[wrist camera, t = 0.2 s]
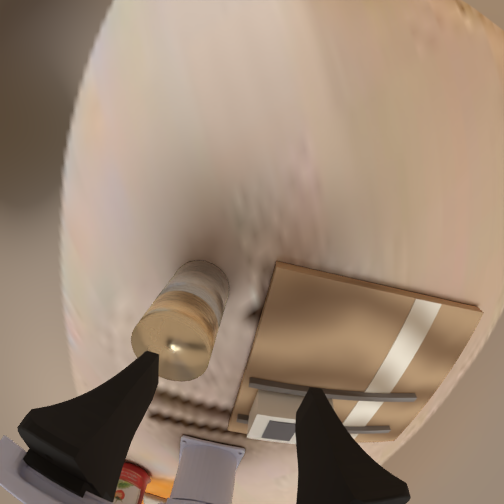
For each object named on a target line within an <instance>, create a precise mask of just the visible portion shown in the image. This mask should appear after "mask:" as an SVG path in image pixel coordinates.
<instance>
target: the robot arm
mask: <svg viewBox="0 0 504 504" xmlns="http://www.w3.org/2000/svg"><path fill="white" fill-rule="evenodd" d="M158 376H159V354H157V353H154V352H150V351H145V352H144V353H143V354H142V355H141V356H140V357H138V358H137V359H136V360H135V361H134V362H132V363H131V364H130V365H129V366H128V367H126V368H125V369H124V370H122V371H121V372H120V373H118V374H117V375H116V376H114V377H113V378H111V379H110V380H108V381H106V382H105V383H103V384H102V385H100V386H98V387H97V388H95V389H93V390H91V391H89V392H87V393H85V394H83V395H80V396H78V397H76V398H73V399H71V400H68V401H65V402H62V403H59V404H55V405H51V406H47V407H42V408H36V409H32V410H31V411H30V412H29V413H28V414H27V415H26V416H25V418H24V419H23V420H22V422H21V423H20V425H19V426H18V432H19V434H20V436H21V437H22V438H23V440H24V441H25V443H26V444H27V446H28V447H29V448H30V449H29V450H28V452H25V450H24V449H22V448H21V447H20V446H19V445H17V444H16V443H15V442H13V441H12V440H11V439H9V438H8V437H7V436H3V437H2V439H1V440H0V485H1V486H2V487H3V488H4V489H5V490H7V491H8V492H9V493H10V494H12V495H13V496H14V497H16V498H17V499H18V500H20V501H21V502H22V503H24V504H114V503H112V502H113V501H114V497H115V493H116V489H117V485H118V481H119V478H120V474H121V471H122V468H123V465H124V461H125V458H126V455H127V452H128V450H129V447H130V444H131V441H132V439H133V437H134V434H135V432H136V430H137V428H138V426H139V424H140V422H141V421H142V419H143V417H144V415H145V413H146V411H147V409H148V407H149V405H150V403H151V401H152V399H153V396H154V393H155V391H156V388H157V385H158ZM295 435H296V446H297V458H298V491H297V502H296V504H406V503H407V502H408V501H409V500H410V494H409V490H408V486H407V484H406V483H405V482H404V481H402V480H400V479H399V478H397V477H395V476H394V475H392V474H391V473H389V472H388V471H387V470H385V469H383V467H381V466H380V465H379V464H378V463H376V462H375V461H374V460H373V459H372V458H371V457H370V456H369V455H368V454H367V453H366V452H365V451H364V450H363V449H362V448H361V447H360V446H359V445H358V443H357V442H356V441H355V440H354V439H353V437H352V436H351V435H350V433H349V432H348V431H347V429H346V428H345V427H344V425H343V424H342V422H341V420H340V419H339V417H338V416H337V414H336V412H335V411H334V409H333V407H332V406H331V404H330V402H329V401H328V399H327V397H326V395H325V394H324V392H323V390H322V389H321V388H313V387H310V388H309V389H308V391H307V393H306V395H305V397H304V399H303V401H302V403H301V404H300V406H299V408H298V410H297V412H296V422H295ZM244 453H245V449H244V448H240V447H234V446H229V445H224V444H219V443H214V442H210V441H205V440H201V439H197V438H193V437H189V436H185V435H183V436H181V443H180V455H179V466H178V470H177V474H176V477H175V481H174V485H173V488H172V492H171V496H170V498H167V501H166V503H164V502H160V503H158V504H232V497H233V489H234V481H235V473H236V469H237V467H238V465H239V463H240V461H241V459H242V457H243V455H244Z"/></svg>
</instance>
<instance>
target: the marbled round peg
mask: <svg viewBox="0 0 504 504" xmlns="http://www.w3.org/2000/svg"><path fill="white" fill-rule="evenodd" d="M228 296H229V283H228V280H227V278H226V276H225V274H224V273H223V272H222V271H221V270H220V269H219V268H218V267H217V266H215V265H214V264H212V263H209V262H206V261H200V260H197V261H190V262H188V263H186V264H184V265H183V266H181V267H180V268H179V269H178V271H177V272H176V273H175V275H174V276H173V277H172V279H171V280H170V281H169V282H168V284H167V285H166V286H165V288H164V289H163V290H162V292H161V293H160V294H159V296H158V297H157V298H156V300H155V301H154V302H153V304H152V305H151V306H150V308H149V309H148V310H147V312H146V313H145V314H144V316H143V317H142V319H141V320H140V321H139V323H138V324H137V325H136V327H135V328H134V330H133V332H132V336H131V343H132V348H133V350H134V353H135V355H136V356H137V358H138V357H140V356H141V355H142V354H143V353H144V352H145V351H150V352H154V353H157V354H159V376H160V377H162V378H165V379H168V380H173V381H190V380H193V379H196V378H198V377H199V376H201V375H202V374H203V373H204V372H205V371H206V369H207V367H208V364H209V360H210V357H211V353H212V350H213V346H214V343H215V340H216V336H217V333H218V329H219V326H220V323H221V319H222V316H223V312H224V309H225V306H226V302H227V299H228Z"/></svg>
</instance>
